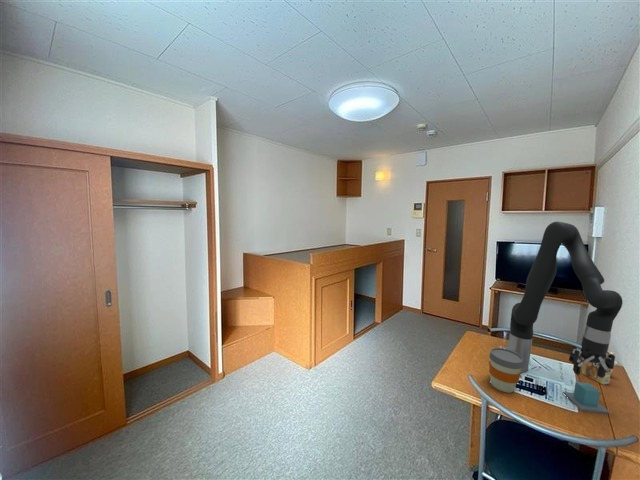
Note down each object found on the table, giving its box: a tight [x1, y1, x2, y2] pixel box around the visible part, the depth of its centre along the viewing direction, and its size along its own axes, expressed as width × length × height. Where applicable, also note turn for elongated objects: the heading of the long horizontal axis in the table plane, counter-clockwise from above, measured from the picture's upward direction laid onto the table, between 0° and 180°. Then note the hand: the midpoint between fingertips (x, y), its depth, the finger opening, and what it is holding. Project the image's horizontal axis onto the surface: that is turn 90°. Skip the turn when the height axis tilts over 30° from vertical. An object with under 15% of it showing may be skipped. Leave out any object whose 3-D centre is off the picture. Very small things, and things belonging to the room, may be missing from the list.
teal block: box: [573, 381, 601, 407], centre depth 112 cm, size 5×5×7 cm
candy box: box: [581, 350, 615, 385], centre depth 129 cm, size 9×4×15 cm, turn 13°
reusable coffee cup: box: [488, 347, 523, 393], centre depth 121 cm, size 13×13×15 cm
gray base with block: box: [562, 391, 610, 415], centre depth 112 cm, size 10×10×6 cm
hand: (588, 375), depth 111 cm, fingers open, 8 cm apart
